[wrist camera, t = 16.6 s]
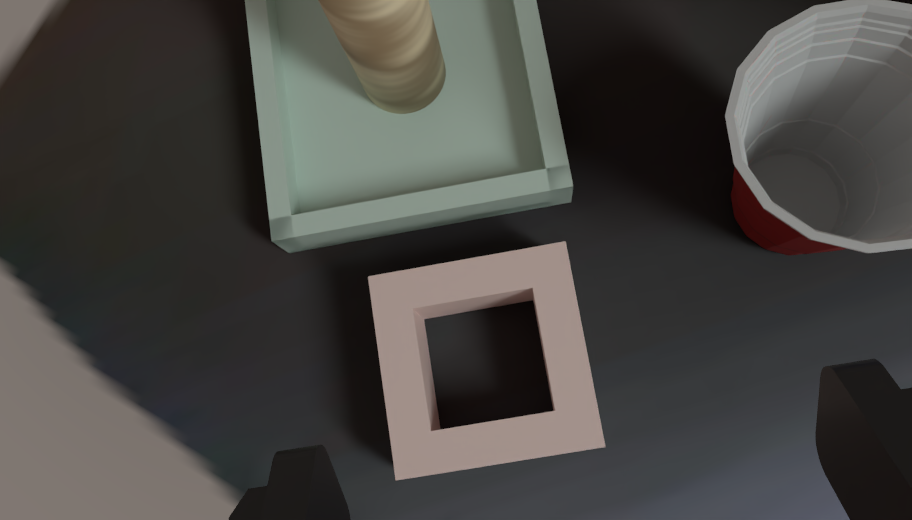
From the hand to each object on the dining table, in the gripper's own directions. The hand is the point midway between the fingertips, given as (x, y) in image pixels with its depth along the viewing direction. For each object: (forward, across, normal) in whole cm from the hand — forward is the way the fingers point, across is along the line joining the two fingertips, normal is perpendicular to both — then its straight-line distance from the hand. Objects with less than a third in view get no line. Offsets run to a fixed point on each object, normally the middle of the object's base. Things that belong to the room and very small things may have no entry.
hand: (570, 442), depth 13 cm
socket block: (+24, +3, +18) cm, 30 cm away
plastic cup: (+28, -14, +14) cm, 34 cm away
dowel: (+35, +5, +5) cm, 36 cm away
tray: (+36, +5, +6) cm, 36 cm away
